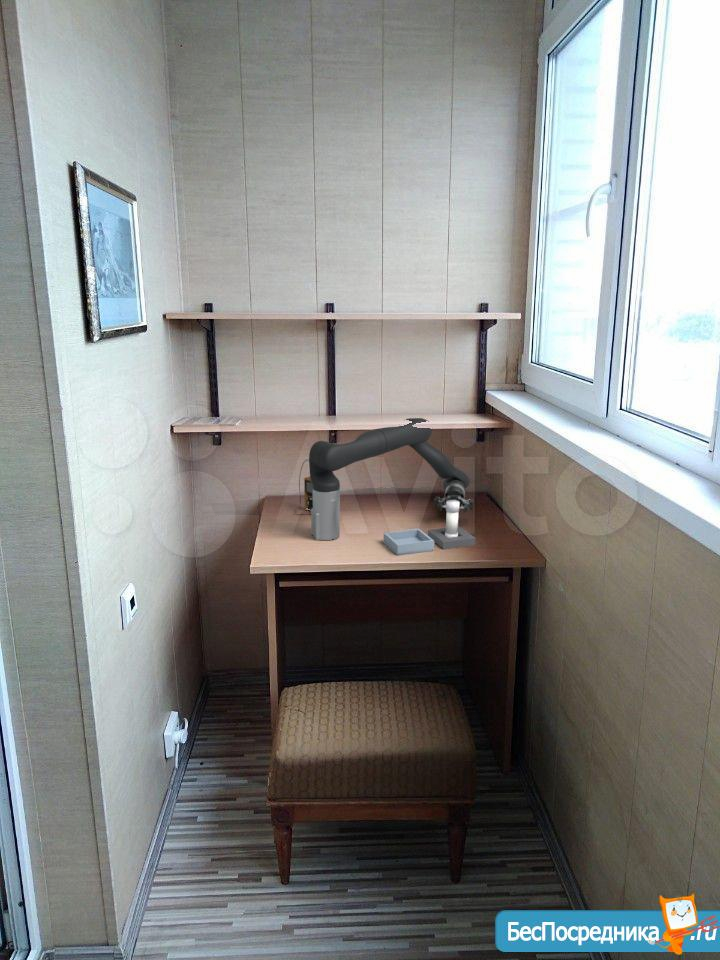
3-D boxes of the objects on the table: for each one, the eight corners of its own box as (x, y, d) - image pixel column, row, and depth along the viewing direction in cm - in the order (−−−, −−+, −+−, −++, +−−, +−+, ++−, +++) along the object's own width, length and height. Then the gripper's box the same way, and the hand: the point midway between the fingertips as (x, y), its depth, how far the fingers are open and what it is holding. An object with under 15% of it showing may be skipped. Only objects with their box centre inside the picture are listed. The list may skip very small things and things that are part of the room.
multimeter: (284, 512, 258) (282, 461, 252) (303, 506, 265) (302, 456, 259) (310, 521, 248) (309, 469, 243) (329, 515, 255) (329, 464, 250)
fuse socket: (443, 549, 223) (443, 542, 223) (427, 536, 234) (427, 530, 233) (475, 544, 227) (475, 537, 227) (458, 532, 238) (458, 526, 237)
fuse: (448, 543, 228) (450, 504, 224) (442, 539, 232) (444, 500, 228) (459, 542, 229) (462, 503, 226) (453, 537, 233) (455, 499, 230)
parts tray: (397, 555, 218) (397, 545, 217) (383, 542, 229) (383, 532, 228) (433, 550, 222) (434, 540, 221) (418, 538, 233) (418, 528, 232)
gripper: (436, 484, 253) (433, 497, 237) (474, 487, 250) (474, 500, 235) (435, 503, 255) (432, 517, 239) (473, 506, 252) (472, 520, 237)
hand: (453, 508), depth 237 cm, fingers open, 8 cm apart
